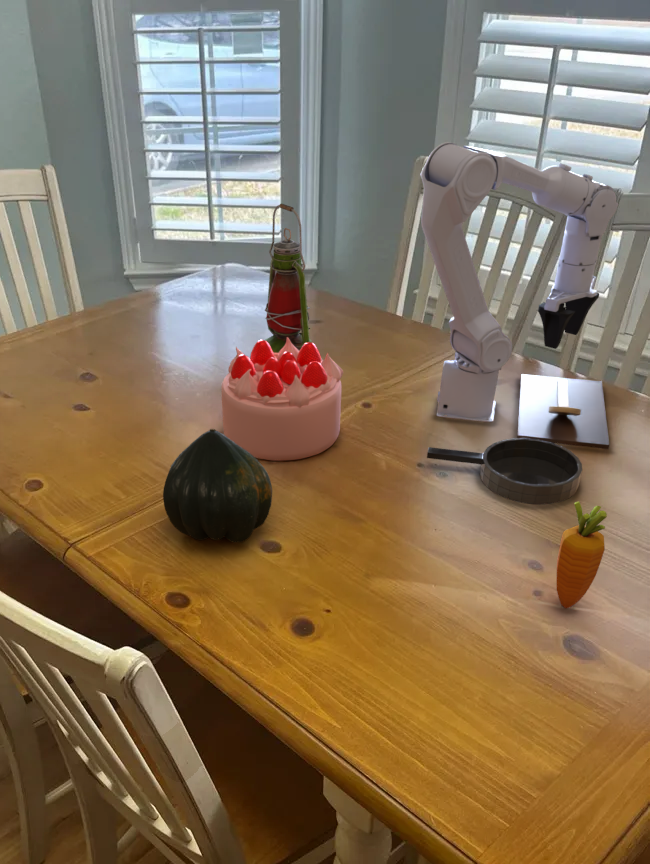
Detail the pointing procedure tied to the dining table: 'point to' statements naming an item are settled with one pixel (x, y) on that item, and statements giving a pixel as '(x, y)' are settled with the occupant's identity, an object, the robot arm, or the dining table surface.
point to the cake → (282, 401)
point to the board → (562, 428)
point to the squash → (217, 490)
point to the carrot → (579, 556)
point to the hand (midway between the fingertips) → (561, 339)
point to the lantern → (287, 292)
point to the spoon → (563, 401)
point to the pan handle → (455, 455)
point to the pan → (530, 470)
